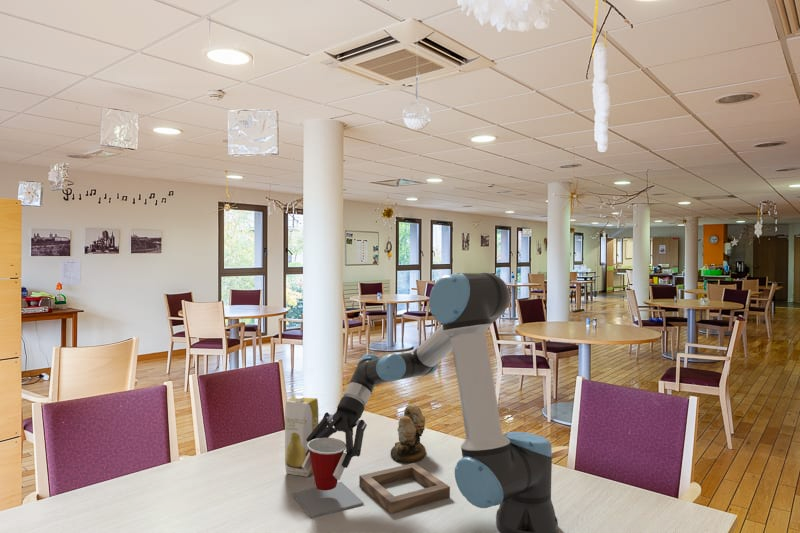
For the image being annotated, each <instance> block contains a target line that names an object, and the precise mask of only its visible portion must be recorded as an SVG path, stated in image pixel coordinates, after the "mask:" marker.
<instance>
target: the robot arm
mask: <svg viewBox="0 0 800 533" xmlns="http://www.w3.org/2000/svg"><path fill="white" fill-rule="evenodd" d="M510 294H511V293H510V290H509V287H508V285H507V283H505V281H504V280H503V279H502V278H501V277H500V276H498V275H497V274H494V273H489V272H480V273H475V272H474V273H470V272H469V273H468V272H466V273H464V272H463V273H461V272H460V273H459V272H457V273H451V274H445V275H442V276H441V277H440V278H439V279H437V280H436V282H435V283H434V285H433V287H432V288H431V290H430V293H429V300H428V301H429V302H428V304H429V310H430V313H431V315H432V317H434V320H436V321H437V322H438V323H441V326H440V327H439V328H437V329H436V330H435V331H434V332H433V333H432V334H431V335H430V336H429V337H428V338H426V340H424V341H423V342H422V343H421V344H420V345H419V346H418V347H417V348H416V349H414V350H413V351H410V352H404V353H398V354H397V353H389V354H385V355H384V354H383V356H378V355H377V354H374V353H365V354H363V355H362V356H361V358H360V360H359V361H358V363H357V365H356V368H355V369H354V372H353V374H352V376H351V379H350V381H349V382H348V384H347V386H346V388H345V390H344V391H343V395H342V397H341V398H340V401H339V403H338V405H337V406H336V408H337V409H336V412H335V413H334V414H330V413H329V412H325V413H324V415H323V417H322V419H321V420H320V421H319V422H318V425H317V427H316V428H315V429H314V430H313V431H312V433H311V434H310V435H309V436H308V438H307V439H306V440H307V442H309V441H311V440H313V439H317V438H331V436H332V435H333V434H336V433H337V432H343V433H344V435H345V437H344V438H345V444H346V449H345V450H344V452H343V454H342V456H341V458H340V460H339V463H338V465H337V467H336V469H335V471H334V474H333V476H334V477H335V478H336V479H337V480H338V481H340V479H341V477H342V475H343V473H344V471H345V469H347V468H348V467H349V465H350V463H351V460H352V458H354V457H360V456H361V452H362V447H363V446H362V445H363V440H364V439H363V438H364V433H365V430H366V428H367V423H366V421H364V419H361V418H362V415H363V412H364V411H365V407H367V404H368V402H369V399H370V398H371V396H372V393H373V391H374V389H375V387H376V385H381V384H385V383H389V382H390V383H391V382H395V381H400V380H405V379H410V378H415V377H421V376H427V375H430V374H434V372H436V371H437V368H438V366H439V362H441V361H442V360H443V359H445V358H446V357H447V356H448V355H449V354H451V353H452V355H453V360H454V362H453V363H454V368H455V369H454V370H455V376H456V380H457V381H456V382H457V388H458V394H459V400H460V408H461V413H462V421H463V425H464V433H465V439H464V441H463V443H461V445H460V449H461V456H462V457H461V458H460V459H459V460H458V461H457V462H456V465H455V467H454V479H455V482H456V485H457V489H458V490H459V492H460V493H461V496H463V497H464V498H465V499H466V501H468V503H470V504H471V505H472V506H474V507H476V508H479V509H487V508H491V507H496V506H499V507H498V509H497V510H496V514H495V526H496V528H497V530H498V531H499V532H500V533H558V532H559V521H558V518H557V516H556V512H555V507H554V505H553V501H552V471H553V470H552V468H553V465H552V464H553V461H552V460H553V456H554V455H553V452H552V444H551V442H550V441H549V440H548V439H547V438H546V437H543V436H541V435H538V434H534V433H531V432H524V431H509V432H506V433H505V434H504V433H503V431H502V430H503V429H502V423H501V416H500V413H499V405H498V400H497V393H496V388H495V381H494V375H493V369H492V364H491V357H490V351H489V346H488V345H489V344H488V339H487V331H488V330H489V328H490V327H491V325H492V324H493V323H495V321H497V320H498V319H499V318H500V317H501V316H502V315H503V314H504V313H505V312H506V311H507V309H508V307H509V304H510V301H511V299H510V298H511V297H510V296H511V295H510ZM355 427H356V430H355V436H354V428H355ZM353 436H354V437H353ZM306 456H307V457H306V459H305V461H304V463H303V465H302V467H303V468H304V469H305V470H306V471H309V469H310V467H311V465H312V464H311V457H310V453H309V449H308V451H307V452H306Z"/></svg>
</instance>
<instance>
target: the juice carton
mask: <svg viewBox="0 0 800 533" xmlns="http://www.w3.org/2000/svg"><path fill="white" fill-rule="evenodd" d="M284 414H285V415H284V419H285V420H284V466H285V473H286V474H288V475H293V476H294V475H295V476H301V477H306V478H308V477H309V476H310V475H313V470H312V465H311V467H310V469H309V471H306V470H305V469H304V468H303V467H302V465H303V463H304V461H305V459H306V457H307V456H306V452H307V451H308V447H307V444H308V442H307V440H306V439H307V438H308V436H309V435H310V434H311V433H312V431H313V430H314V429H315V428H316V427H317V425H318V424H319V402H318V398H317V397H305V396H304V395H296V396H293V397H292V398H290V399H287V400H286V401H285V408H284Z"/></svg>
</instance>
